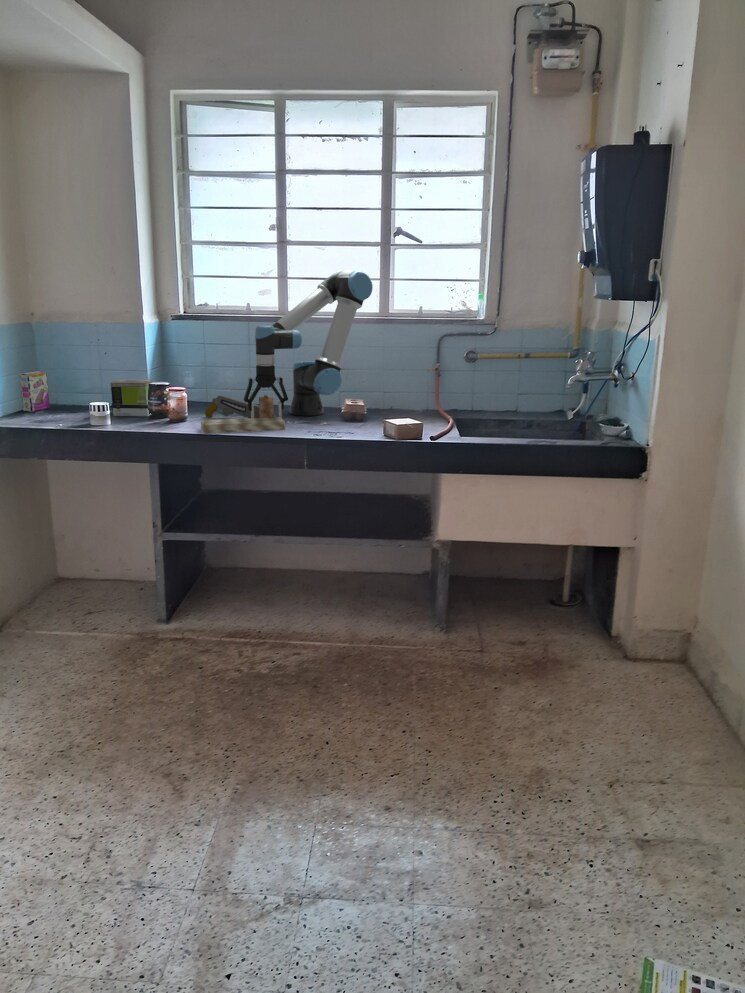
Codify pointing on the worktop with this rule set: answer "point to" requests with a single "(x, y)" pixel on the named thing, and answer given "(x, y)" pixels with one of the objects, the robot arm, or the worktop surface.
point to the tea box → (130, 397)
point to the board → (242, 425)
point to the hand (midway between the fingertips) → (266, 418)
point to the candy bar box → (34, 391)
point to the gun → (230, 407)
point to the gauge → (266, 407)
